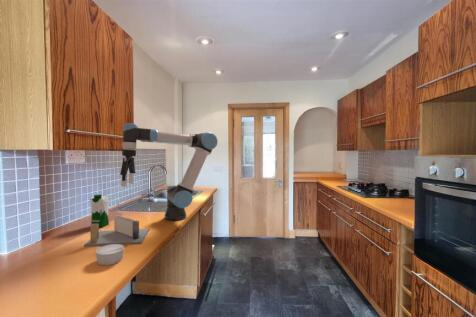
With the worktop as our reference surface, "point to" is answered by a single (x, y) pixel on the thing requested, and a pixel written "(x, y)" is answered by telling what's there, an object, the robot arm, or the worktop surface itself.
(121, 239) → the board
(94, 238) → the post
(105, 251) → the ramekin
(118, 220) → the rod
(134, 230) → the hinge post
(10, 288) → the worktop surface
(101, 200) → the milk carton
